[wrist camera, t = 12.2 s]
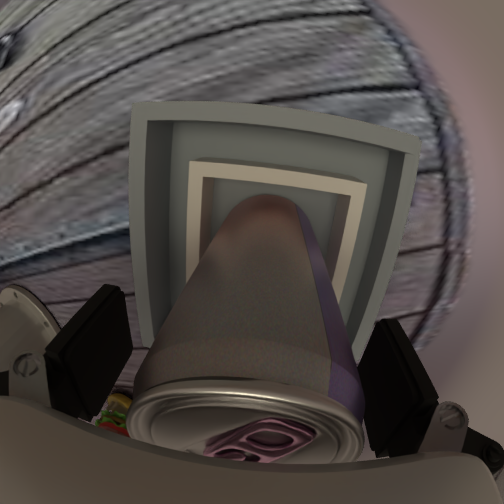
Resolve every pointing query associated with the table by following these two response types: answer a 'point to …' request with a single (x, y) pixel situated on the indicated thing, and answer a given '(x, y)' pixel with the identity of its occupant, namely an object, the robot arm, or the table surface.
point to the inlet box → (265, 183)
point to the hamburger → (115, 414)
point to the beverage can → (254, 351)
